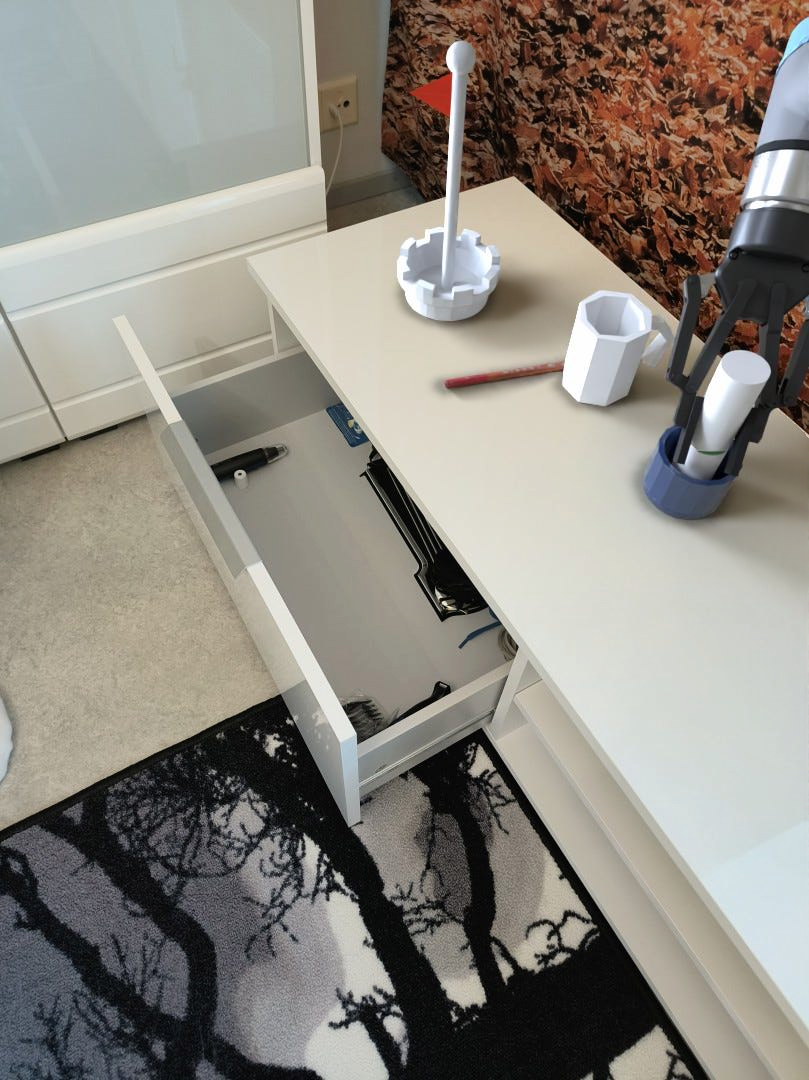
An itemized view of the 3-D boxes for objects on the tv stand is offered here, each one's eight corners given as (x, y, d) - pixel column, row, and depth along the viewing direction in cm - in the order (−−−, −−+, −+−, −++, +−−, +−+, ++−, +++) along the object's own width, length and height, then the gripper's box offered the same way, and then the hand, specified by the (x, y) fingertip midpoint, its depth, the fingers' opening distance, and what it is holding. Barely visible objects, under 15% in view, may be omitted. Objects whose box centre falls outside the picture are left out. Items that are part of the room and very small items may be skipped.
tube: (662, 472, 78) (711, 366, 66) (685, 450, 80) (737, 343, 67) (696, 495, 76) (754, 391, 64) (719, 472, 78) (779, 367, 66)
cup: (734, 481, 81) (756, 446, 76) (701, 532, 77) (722, 499, 72) (663, 446, 84) (680, 409, 79) (629, 494, 80) (644, 458, 75)
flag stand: (499, 266, 101) (531, 16, 76) (492, 331, 94) (525, 79, 69) (405, 257, 102) (405, 8, 77) (390, 321, 95) (386, 69, 70)
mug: (573, 410, 86) (591, 347, 78) (551, 359, 91) (567, 294, 83) (670, 397, 88) (698, 333, 80) (644, 347, 92) (668, 281, 84)
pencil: (445, 390, 88) (446, 384, 88) (443, 383, 89) (444, 377, 88) (596, 366, 91) (597, 360, 90) (593, 360, 91) (594, 354, 90)
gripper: (866, 241, 69) (786, 485, 74) (677, 209, 72) (612, 446, 77) (902, 223, 62) (810, 494, 67) (690, 188, 64) (617, 451, 70)
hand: (704, 468), depth 72 cm, fingers closed on tube, 4 cm apart
